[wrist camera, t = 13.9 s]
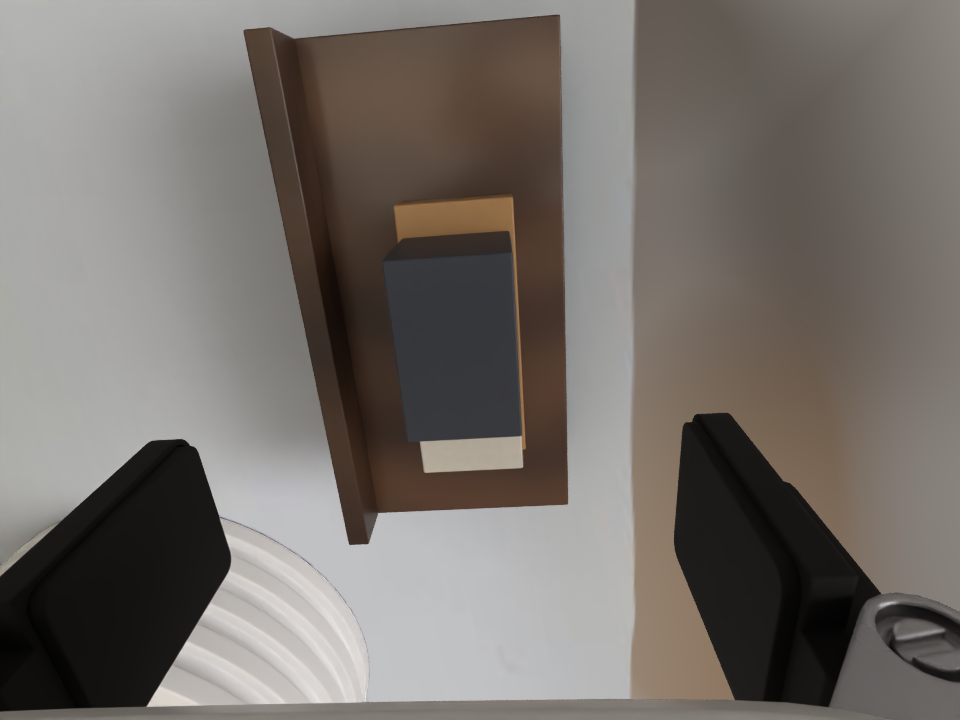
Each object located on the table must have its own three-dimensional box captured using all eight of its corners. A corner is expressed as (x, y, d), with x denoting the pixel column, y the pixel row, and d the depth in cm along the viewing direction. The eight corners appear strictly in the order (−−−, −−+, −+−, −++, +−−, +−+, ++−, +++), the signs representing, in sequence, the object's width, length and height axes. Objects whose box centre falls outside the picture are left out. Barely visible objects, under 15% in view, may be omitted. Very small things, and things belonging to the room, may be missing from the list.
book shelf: (316, 60, 26) (242, 29, 19) (546, 39, 26) (568, -1, 18) (381, 453, 35) (348, 545, 27) (556, 444, 34) (574, 536, 26)
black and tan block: (397, 202, 23) (368, 221, 18) (512, 193, 23) (516, 211, 18) (428, 442, 27) (412, 513, 22) (524, 437, 27) (531, 509, 22)
